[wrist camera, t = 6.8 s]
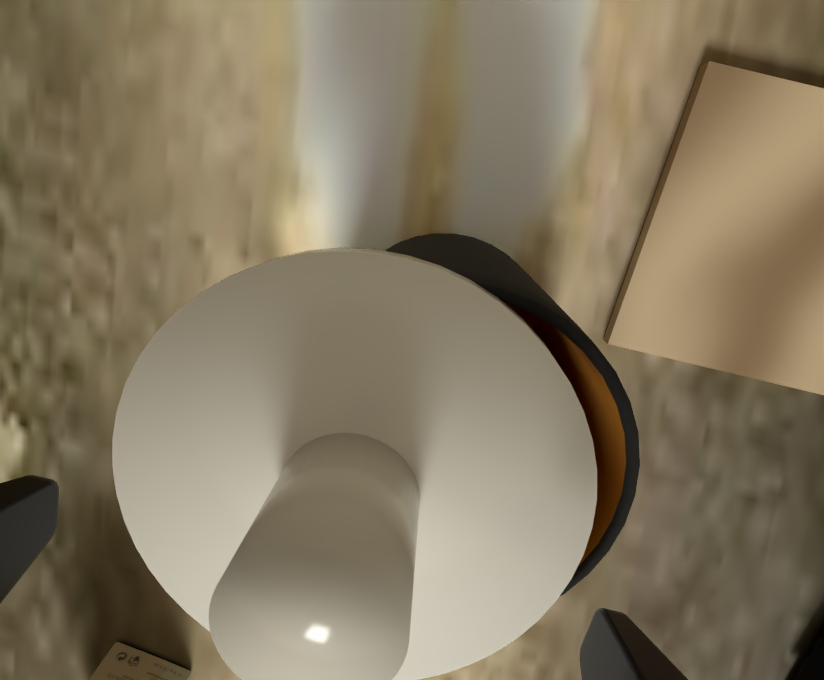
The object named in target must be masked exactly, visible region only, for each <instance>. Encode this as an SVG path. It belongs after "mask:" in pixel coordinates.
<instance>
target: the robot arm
mask: <svg viewBox="0 0 824 680" xmlns="http://www.w3.org/2000/svg"><path fill="white" fill-rule="evenodd" d="M58 506H59V486H58V484H57V482H56V481H54V480H52V479H48V478H43V477H39V476H34V475H28V476H24V477H21V478H17V479H14V480H10V481H7V482H3V483H0V604H1V602H2V601H3V600H4V598H5V597H6V596H7V595H8V593H9V592H10V591H11V589H12V588H13V587H14V586H15V584H16V583H17V582H18V580H19V579H20V578H21V577H22V575H23V574H24V573H25V572H26V570H27V569H28V568H29V566H30V565H31V564H32V563H33V561H34V560H35V559H36V557H37V556H38V555H39V554H40V552H41V551H42V550H43V548H44V547H45V546H46V545H47V543H48V542H49V541H50V539H51V538H52V537H53V535H54V533H55V531H56V528H57V525H58ZM580 667H581V675H582V680H688V679H687V678H686V677H685V676H684V675H683V674H682V673H681V672H680V671H679V670H678V669H677V668H676V667H675V665H674V664H673V663H672V662H671V661H670V660H669V659H668V658H667V657H666V656H665V655H664V654H663V653H662V652H661V651H660V650H659V649H658V648H657V647H656V646H655V645H654V644H653V643H652V641H651V640H650V639H649V638H648V637H647V636H646V635H645V634H644V633H643V632H642V631H641V630H640V629H639V628H638V627H637V626H636V625H635V624H634V623H633V622H632V621H631V620H630V619H629V617H627V616H626V615H625V614H624V613H621V612H617V611H613V610H609V609H604V608H601V609H598V610H597V611H596V612H595V614H594V616H593V618H592V621H591V623H590V625H589V628H588V630H587V633H586V635H585V637H584V640H583V642H582V645H581V649H580ZM791 680H824V625H823V626H822V628H821V630H820V631H819V633H818V635H817V637H816V638H815V640H814V642H813V643H812V645H811V647H810V648H809V650H808V652H807V654H806V655H805V657H804V659H803V660H802V662H801V664H800V665H799V667H798V669H797V670H796V672H795V674H794V676H793V677H792V679H791Z"/></svg>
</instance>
